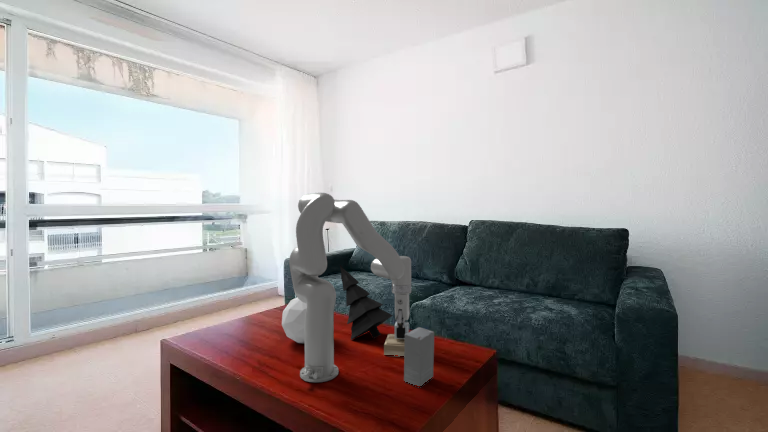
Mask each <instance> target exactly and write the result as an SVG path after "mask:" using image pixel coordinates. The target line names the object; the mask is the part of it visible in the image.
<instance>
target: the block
mask: <svg viewBox="0 0 768 432" xmlns="http://www.w3.org/2000/svg"><path fill="white" fill-rule="evenodd" d="M409 325H410V323H409V321H406V322H404V327H405V334H406V333H408V332H410V331H409V327H410V326H409ZM394 334H395V339H405V338H397V321H395V323H394Z"/></svg>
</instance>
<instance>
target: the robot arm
mask: <svg viewBox="0 0 768 432" xmlns="http://www.w3.org/2000/svg"><path fill="white" fill-rule="evenodd" d="M297 208H298V211H299V213H300V215H299V216H298V219H297V222H296V226H295V237H296V245H297V246H296V247H294V248H293V249H292V251H291V252H290V255H289V260H288V264H289V270H290V277H291V281H292V282H291V283H292V287H293V291H294V294H295V296H296V298H298V299H299V300H301V301H302V302H304V303H306V304H307V309H306V314H305V321H304V329H305V343H304V367H302V368H301V369H300V370H299V377H300V379H302V380H303V381H305V382H309V383H323V382H328V381H331V380H333V379H335V378H337V376H338V375H339V367H338V366H337V365H336V364H335V349H334V348H335V341H334V340H335V339H334V338H335V337H334V336H335V335H334V334H335V333H334V330H335V329H334V327H335V326H334V324H335V322H334V317H335V306H336V300H337V293H336V289H335V287H334V285H333V284H332V283H331V282H330V281H328V280H327V279H324V278H321V277H319V276H321V275H323V274H324V273H325V272H326V270H327V268H328V260H327V259H328V258H327V252H326V248H325V242H324V226H325V224H326V222H327V223H335V224H342V225H343V227H344V228H345V230H346V231H347V233H348V234H349V236H350V237H351V238H352V240H353V242H354V243H355V245H356V246H357V247H359V248H360V249H361V250H363V251H364V252H367V253H368V254H369V255H371V256H373V257H374V259H373V260H372V261H371V264H370V270H371V272H372V273H373V275H375V276H377V277H378V278H383V279H387V280H390V281H391V293H392V294H394V319H395V320H396V322H397V338H405V327H404V322H407V321H408V320H409V318H410V294H412V259H411V258H410V256H406V255H399V253H398V252H397V250H396V249H395V248H394V247H393V246H392V245H391V243H389V242H388V240H386V239H385V238H384V237H383V236H382V235H381V234H379V232H377V230H376V229H375V227H374V225H373V224H372V222H371V221H370V220H369V217H368V216H367V215H366V213H365V211H364V210H363V208H362V207H361V205H360V204H359V203H358V202H357V201H355V200H352V199H334V197H333V196H332V195H331V194H330V193H327V192H315V193H307V194H304V195H302V197H300V198H299V200H298V202H297Z"/></svg>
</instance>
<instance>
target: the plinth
mask: <svg viewBox="0 0 768 432" xmlns="http://www.w3.org/2000/svg"><path fill="white" fill-rule="evenodd" d="M404 351H405V339H395V333H388V334H387V337H386V339H385V342H384V344H383V356H384V355H394V356H393V357H396V356H395V355H398V356H397V357H400V356H404Z"/></svg>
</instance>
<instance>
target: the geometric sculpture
mask: <svg viewBox="0 0 768 432" xmlns="http://www.w3.org/2000/svg"><path fill="white" fill-rule="evenodd" d="M306 309H307V304H306V303H304V302H302V301H301V300H299V299H298V298H297V297H295V298H293V299H291V300H290V301H289V302H288V304H287V306H286V307H285V308H284V309H283V311H282V315H281V316H282V317H281V326H282V329H283V331H284V333H285V335H286V337H287V338H289V339H291V340H292V341H294V342H296V343H297V344H305V329H304V321H305V314H306Z"/></svg>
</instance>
